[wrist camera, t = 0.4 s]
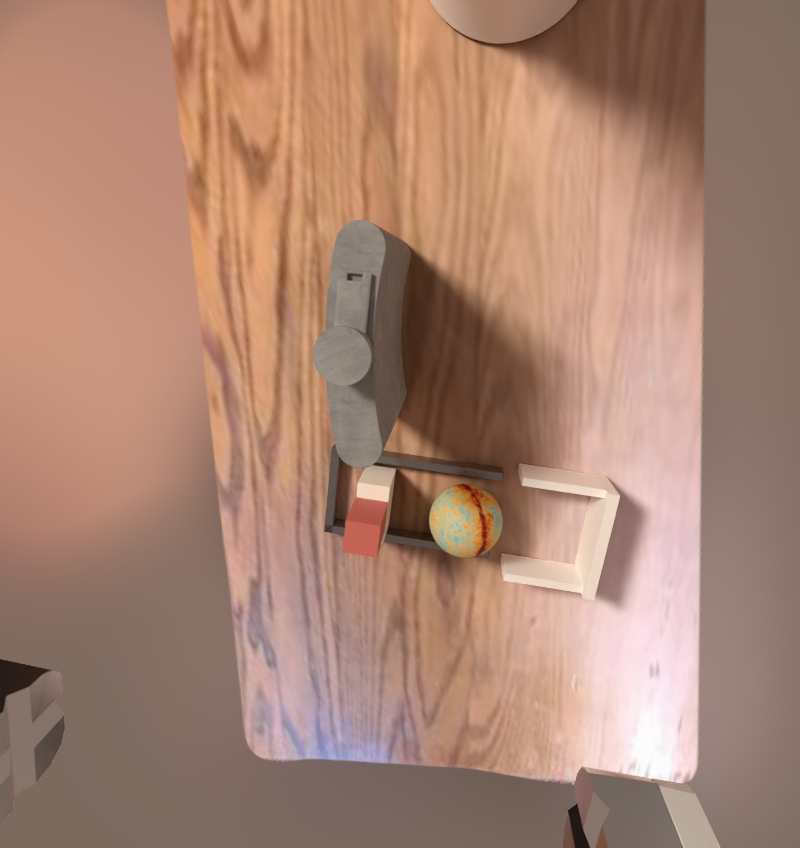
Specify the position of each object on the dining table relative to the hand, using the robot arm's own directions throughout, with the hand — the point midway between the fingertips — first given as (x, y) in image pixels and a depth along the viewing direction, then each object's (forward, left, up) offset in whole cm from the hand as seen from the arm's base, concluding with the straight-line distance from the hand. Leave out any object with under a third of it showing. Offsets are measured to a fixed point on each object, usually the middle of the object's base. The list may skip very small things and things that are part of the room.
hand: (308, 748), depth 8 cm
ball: (+15, +5, -46) cm, 48 cm away
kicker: (+15, -4, -45) cm, 48 cm away
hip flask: (-2, -5, -46) cm, 46 cm away
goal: (+15, +14, -45) cm, 50 cm away
